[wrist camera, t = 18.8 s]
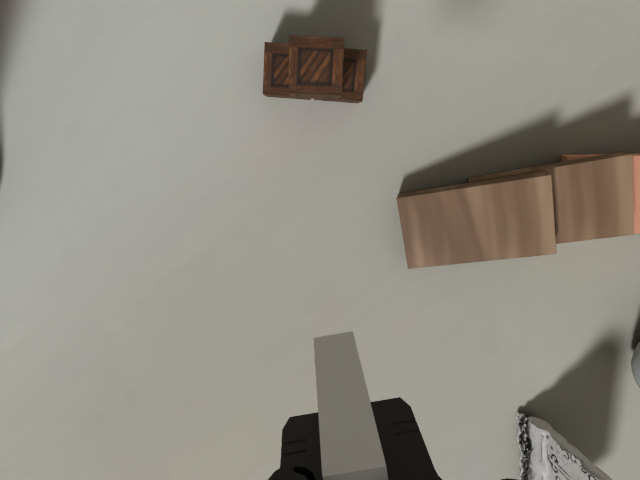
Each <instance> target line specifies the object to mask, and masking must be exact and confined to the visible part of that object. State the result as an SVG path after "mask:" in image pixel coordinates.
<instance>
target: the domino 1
mask: <svg viewBox="0 0 640 480" xmlns="http://www.w3.org/2000/svg"><path fill="white" fill-rule="evenodd" d="M397 203H398V209H399V215H400V221H401V227H402V234H403V240H404V246H405V252H406V258H407V264H408V269H410V268H420V267H430V266H440V265H450V264H460V263H470V262H480V261H490V260H500V259H510V258H520V257H530V256H539V255H549V254H556V241H555V225H554V210H553V194H552V179H551V175H550V174H549V173H548V172H546V171H542V172H535V173H529V174H522V175H516V176H509V177H503V178H496V179H490V180H483V181H477V182H471V183H464V184H458V185H451V186H445V187H438V188H432V189H425V190H419V191H412V192H406V193H399V194H398V197H397Z"/></svg>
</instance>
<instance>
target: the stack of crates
mask: <svg viewBox="0 0 640 480" xmlns="http://www.w3.org/2000/svg"><path fill="white" fill-rule="evenodd" d="M366 57H367V50H358V49H346V48H344V38H336V37H315V36H295V35H289V44H282V43H270V42H265V52H264V80H263V94H264V95H265V96H267V97H280V98H293V99H306V100H310V99H311V98H314V100H323V101H336V102H349V103H359V102H362V100H363V89H364V78H365V67H366Z"/></svg>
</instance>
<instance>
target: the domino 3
mask: <svg viewBox="0 0 640 480" xmlns="http://www.w3.org/2000/svg"><path fill="white" fill-rule="evenodd" d="M629 154H632V176H633V208H634V233H640V153H629ZM598 155H603V154H579V155H561V162H563V161H569V160H574V159H580V158H586V157H592V156H598Z"/></svg>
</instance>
